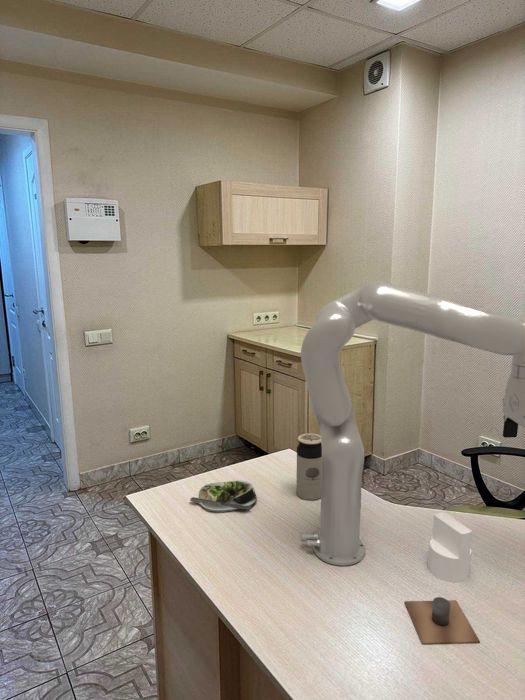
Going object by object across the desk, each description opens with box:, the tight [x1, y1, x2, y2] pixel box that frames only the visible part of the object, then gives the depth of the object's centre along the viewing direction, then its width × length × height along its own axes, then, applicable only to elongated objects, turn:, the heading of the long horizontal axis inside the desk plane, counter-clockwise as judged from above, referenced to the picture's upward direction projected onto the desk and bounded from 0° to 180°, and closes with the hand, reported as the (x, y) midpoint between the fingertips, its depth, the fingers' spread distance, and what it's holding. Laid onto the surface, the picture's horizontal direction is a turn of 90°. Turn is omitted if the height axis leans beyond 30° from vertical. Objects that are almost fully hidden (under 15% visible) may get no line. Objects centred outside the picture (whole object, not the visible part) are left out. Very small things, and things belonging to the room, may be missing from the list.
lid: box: [403, 596, 481, 646], centre depth 98 cm, size 11×11×5 cm
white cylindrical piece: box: [427, 511, 473, 584], centre depth 113 cm, size 9×9×12 cm
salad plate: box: [189, 480, 258, 513], centre depth 145 cm, size 19×18×5 cm
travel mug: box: [295, 433, 322, 501], centre depth 147 cm, size 8×8×18 cm
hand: (521, 445), depth 112 cm, fingers open, 9 cm apart
